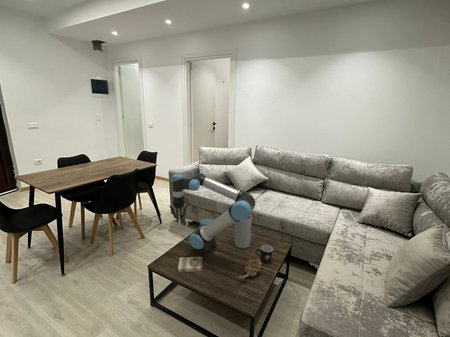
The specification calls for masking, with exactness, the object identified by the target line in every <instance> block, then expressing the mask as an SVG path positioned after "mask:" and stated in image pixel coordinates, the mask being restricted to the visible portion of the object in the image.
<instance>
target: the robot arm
mask: <svg viewBox="0 0 450 337" xmlns="http://www.w3.org/2000/svg"><path fill="white" fill-rule="evenodd" d="M171 186H172V187H171V188H172V204H169V208H170V210H171V213H172V215H173V218H174V219H176V223H178V227H179V228H180V227H182V225H181V224H182V222H183V218H185V215H186V211H187V208H188V203H185V197H184V190H186V191H192V192H197V191H198V190H199V189H200V187H203V188H205V189H207V190H210V191H213V192H215V193H217V194H219V195H221V196H223V197H226V198H228V199H230V200H233V201H234V203H232V204H230V205H229V207H228V209H227V211H225V212H223V213H222V214H221V215H219V216H218V217H217V218H215V219H214V220H213V219H209V218H204V219H201V220H200V221H199V226H198V227H197V228H196V229H195V230H194V231H193V233H191V234H190V236H189V238H188V240H189V244H190V245H191V247H193V248H194V249H196V250H198V251H199V252H201V253H204V254H211V253H213V252H214V253H215V252H216V250H218V242H217V240H216V235H217V234H219V233H220V232H222V231H223V230H224V229H227V228H228V227H229V226H231V225H232V224H233V223H234V224H235V221H236V222H240V221H243V220H245V219H247V218H248V217H249V216H250V215H252V214H251V213H252V212H253V210H254V209H255V206H256V199H255V198H254V196H253V195H252V194H250V193H249V192H247V191H245V190H242V189H236V188H234V187H233V186H229V185H226V184H224V183H221V182H219V181H217V180H214V179H213V178H209V177H207V175H206V174H205V173H204V172H198V173H196V174H195V175H193V176H192V177H190V178H185V177H184V175H183V174H182V173H174V174H173V175H172V176H171ZM183 207H184V208H183ZM174 208H175V209H174ZM182 208H183V212H182Z"/></svg>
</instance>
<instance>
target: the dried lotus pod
mask: <svg viewBox="0 0 450 337" xmlns="http://www.w3.org/2000/svg"><path fill="white" fill-rule="evenodd" d="M261 268H262V261H261V260H260V259H259V258H255V259H254V258H252V259H249V260H248V262H247V263H246V265H245V266H244V272H245V273H246V274H244V275H243V276H242V275H241V276H239V277H238V279H240V280H242V279H244V278H247V277H255V276H256V275H257V274H258V272H260V269H261Z"/></svg>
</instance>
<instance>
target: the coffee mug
mask: <svg viewBox="0 0 450 337" xmlns="http://www.w3.org/2000/svg"><path fill="white" fill-rule="evenodd" d="M257 251H259V252H260V255H259V254H258V252H257ZM273 252H274V248H273V246H271V245H269V244H268V245H267V244H264V245H261V246H260V249H256V250H255V254H256V255H257V256H258V257H259V258H260V259H261V260H260V261H261V263H264V264H270V263H271V260H272V256H273Z"/></svg>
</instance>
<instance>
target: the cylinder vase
mask: <svg viewBox="0 0 450 337" xmlns="http://www.w3.org/2000/svg"><path fill="white" fill-rule="evenodd" d="M252 219H253V216H252V214H250V216H249V217H248V218H247V219H245V220H243V221H240V222H236V221H235V222H234V228H235V229H234V246H235V247H237V248H239V249H247V248H249V247H250V245H251V234H252V222H253V221H252Z"/></svg>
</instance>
